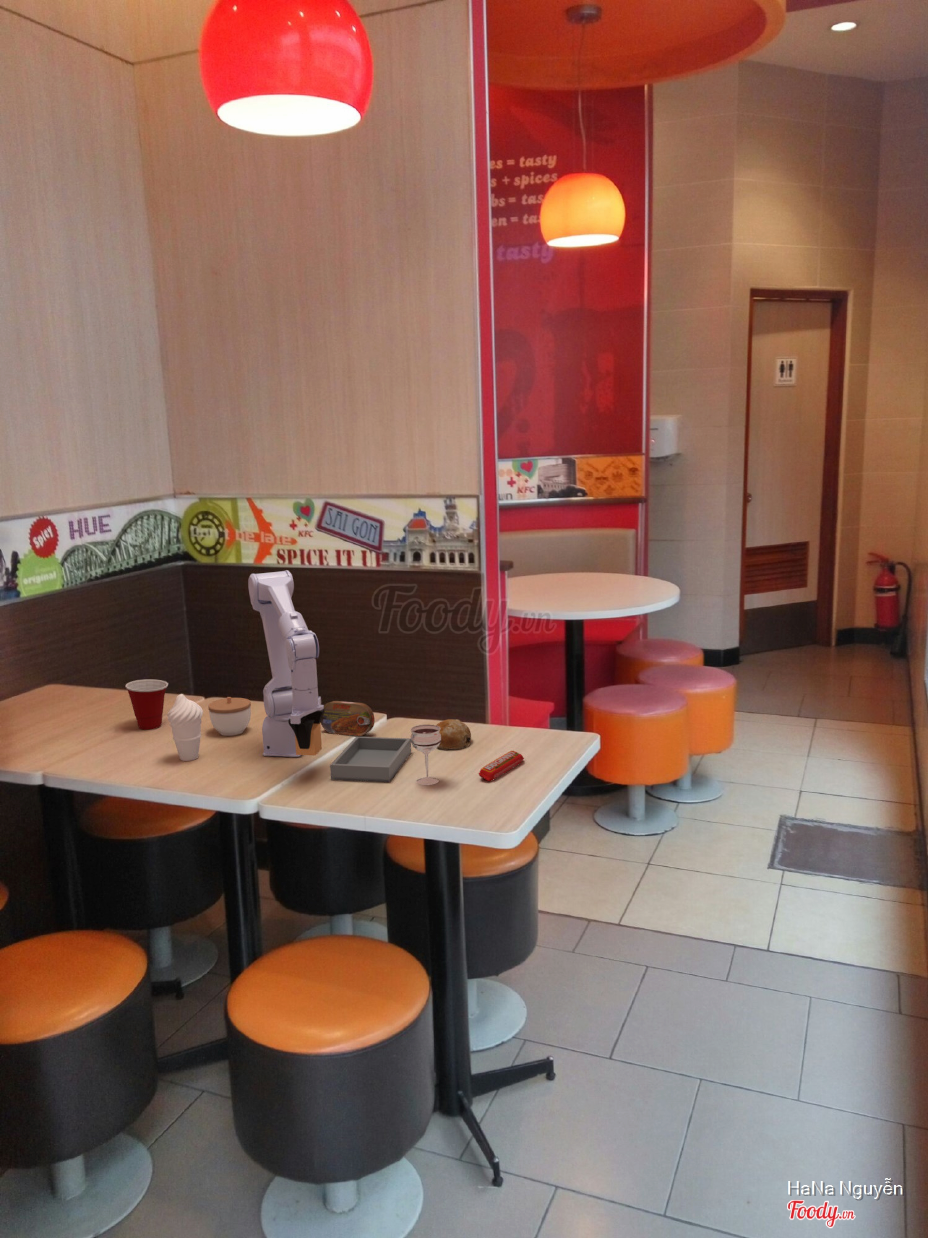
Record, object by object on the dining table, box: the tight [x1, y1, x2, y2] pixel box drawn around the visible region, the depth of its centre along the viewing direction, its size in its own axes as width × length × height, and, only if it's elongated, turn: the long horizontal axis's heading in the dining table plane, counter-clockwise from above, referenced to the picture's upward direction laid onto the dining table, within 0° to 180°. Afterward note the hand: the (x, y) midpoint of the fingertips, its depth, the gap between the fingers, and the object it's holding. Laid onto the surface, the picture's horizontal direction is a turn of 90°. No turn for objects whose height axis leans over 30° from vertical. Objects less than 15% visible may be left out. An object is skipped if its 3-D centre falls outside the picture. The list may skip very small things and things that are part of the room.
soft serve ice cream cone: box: [166, 693, 204, 762], centre depth 234 cm, size 8×8×16 cm
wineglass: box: [409, 724, 441, 786], centre depth 215 cm, size 7×7×12 cm
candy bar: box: [478, 750, 525, 782], centre depth 221 cm, size 16×4×3 cm, turn 147°
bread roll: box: [435, 718, 472, 751], centre depth 239 cm, size 10×10×8 cm
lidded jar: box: [207, 696, 252, 737], centre depth 253 cm, size 11×11×9 cm
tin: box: [320, 700, 376, 737], centre depth 249 cm, size 15×3×8 cm, turn 67°
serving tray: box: [329, 736, 412, 783], centre depth 226 cm, size 14×20×4 cm
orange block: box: [295, 723, 323, 757], centre depth 222 cm, size 4×4×6 cm
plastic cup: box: [125, 678, 169, 731], centre depth 260 cm, size 11×11×12 cm
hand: (308, 744), depth 222 cm, fingers closed on orange block, 4 cm apart
